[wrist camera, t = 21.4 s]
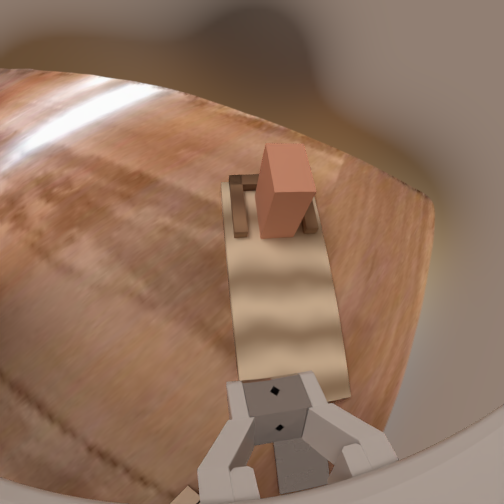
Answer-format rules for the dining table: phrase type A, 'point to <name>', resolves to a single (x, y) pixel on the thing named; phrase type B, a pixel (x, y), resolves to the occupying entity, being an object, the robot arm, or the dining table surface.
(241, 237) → the rail deck
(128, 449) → the dining table surface
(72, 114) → the dining table surface
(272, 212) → the block
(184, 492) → the newspaper
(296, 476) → the plate
